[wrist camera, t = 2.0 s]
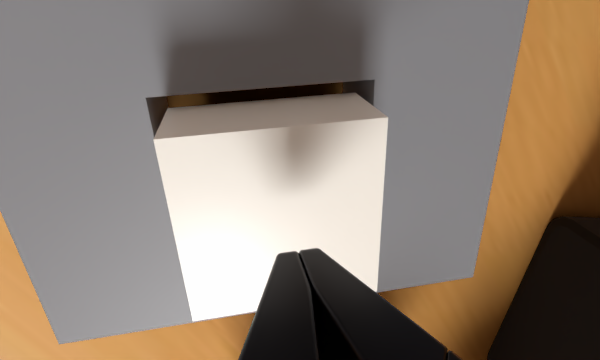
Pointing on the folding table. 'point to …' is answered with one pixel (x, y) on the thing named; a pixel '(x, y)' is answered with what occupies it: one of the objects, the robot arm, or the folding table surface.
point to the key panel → (230, 77)
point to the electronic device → (556, 298)
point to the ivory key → (271, 191)
